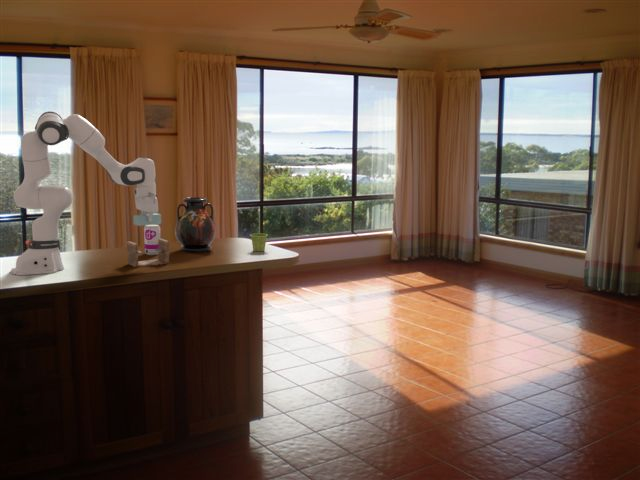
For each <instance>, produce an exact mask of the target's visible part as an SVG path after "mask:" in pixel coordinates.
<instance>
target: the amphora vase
mask: <svg viewBox="0 0 640 480" xmlns="http://www.w3.org/2000/svg"><path fill="white" fill-rule="evenodd" d="M182 202H183V203H179V204H178V205H177V207H176V224H175V228H174V235H175V238H176V240H177V241H178V242H179V244H180V245H181V246H180V247H179V249H180V250H181V252H184V253H192V254H193V253H196V254H197V253H205V252H209V251H211V250H212V246H211V244H212V242H213V241H214V239H215V238H216V234H217V229H216V225H215V224H216V223H215V222H214V206H213V205H212V204H211V203H209V202H208V198H206V197H194V196H193V197H185V198H183V199H182ZM206 202H208V203H206ZM207 206H209V207H210V214H209V213H208V212H207V211H206V207H207ZM181 207H184V211H183V212H182V214H181V215H180V208H181Z"/></svg>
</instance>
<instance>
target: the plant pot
mask: <svg viewBox="0 0 640 480" xmlns="http://www.w3.org/2000/svg"><path fill="white" fill-rule="evenodd" d="M249 236H250V239H251V245H252V250H253V252H256V251H257V252H261V251H262V252H265V250H266V244H267V238H268V234H267V233H251V234H249Z"/></svg>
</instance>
